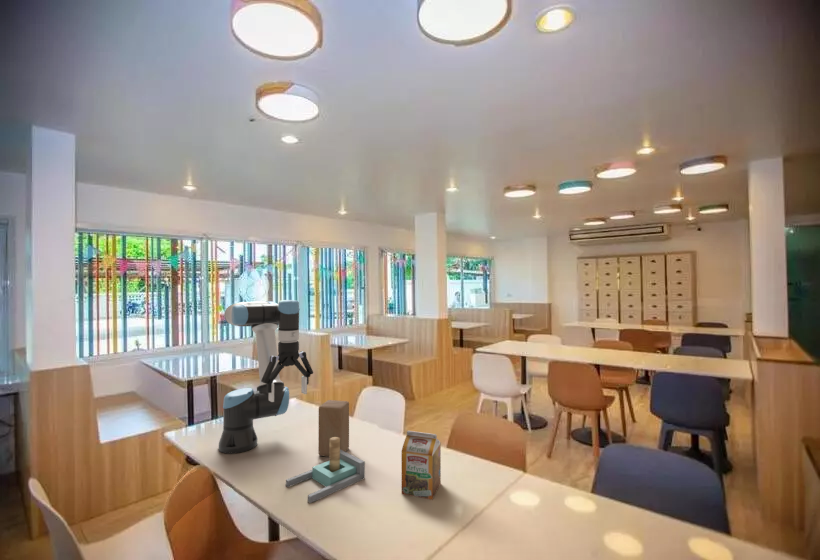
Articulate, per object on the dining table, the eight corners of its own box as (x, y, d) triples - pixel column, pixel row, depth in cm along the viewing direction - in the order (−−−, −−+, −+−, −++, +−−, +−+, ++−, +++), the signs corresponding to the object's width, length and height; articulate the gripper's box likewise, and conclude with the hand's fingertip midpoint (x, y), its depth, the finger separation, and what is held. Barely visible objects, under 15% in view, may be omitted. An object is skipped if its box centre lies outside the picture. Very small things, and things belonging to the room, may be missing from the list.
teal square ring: (312, 478, 141) (312, 467, 141) (337, 467, 148) (337, 457, 148) (330, 489, 133) (330, 477, 133) (356, 478, 141) (356, 466, 141)
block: (341, 458, 156) (341, 408, 156) (317, 456, 158) (317, 406, 158) (349, 448, 166) (349, 400, 166) (327, 446, 168) (327, 399, 168)
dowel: (327, 478, 140) (327, 439, 141) (335, 474, 143) (336, 436, 143) (333, 482, 138) (333, 441, 138) (341, 478, 141) (341, 439, 141)
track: (285, 485, 136) (285, 467, 136) (338, 464, 151) (338, 448, 151) (310, 503, 125) (310, 484, 125) (364, 478, 141) (364, 461, 141)
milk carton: (440, 483, 137) (440, 428, 137) (432, 499, 127) (432, 440, 127) (411, 478, 140) (411, 425, 141) (401, 493, 130) (401, 436, 131)
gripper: (261, 346, 138) (261, 407, 138) (322, 338, 156) (321, 392, 156) (251, 343, 143) (251, 402, 143) (311, 336, 161) (311, 388, 161)
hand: (288, 397), depth 149 cm, fingers open, 13 cm apart
